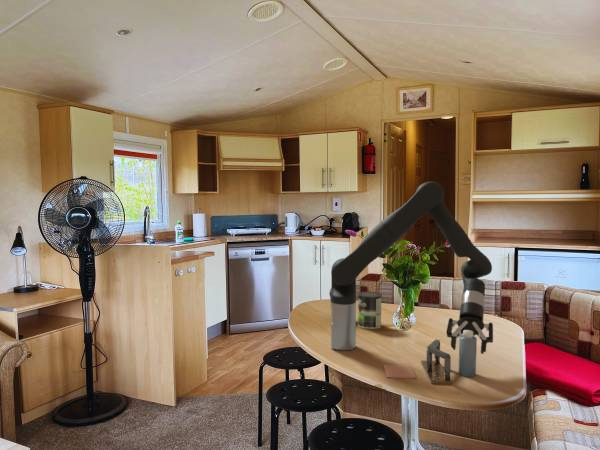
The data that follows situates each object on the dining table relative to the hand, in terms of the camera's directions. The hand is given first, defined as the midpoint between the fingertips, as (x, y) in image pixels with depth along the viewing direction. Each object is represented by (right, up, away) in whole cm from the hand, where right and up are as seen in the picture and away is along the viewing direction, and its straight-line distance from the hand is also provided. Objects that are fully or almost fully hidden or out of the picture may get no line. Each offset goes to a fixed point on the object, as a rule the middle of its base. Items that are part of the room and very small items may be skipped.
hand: (467, 350), depth 149 cm
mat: (-21, -8, +3) cm, 23 cm away
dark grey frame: (-10, -8, +1) cm, 13 cm away
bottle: (0, -8, +1) cm, 8 cm away
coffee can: (-23, -4, +54) cm, 59 cm away
